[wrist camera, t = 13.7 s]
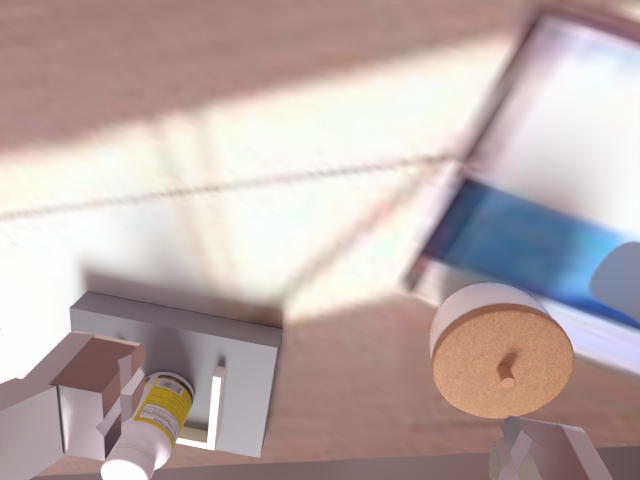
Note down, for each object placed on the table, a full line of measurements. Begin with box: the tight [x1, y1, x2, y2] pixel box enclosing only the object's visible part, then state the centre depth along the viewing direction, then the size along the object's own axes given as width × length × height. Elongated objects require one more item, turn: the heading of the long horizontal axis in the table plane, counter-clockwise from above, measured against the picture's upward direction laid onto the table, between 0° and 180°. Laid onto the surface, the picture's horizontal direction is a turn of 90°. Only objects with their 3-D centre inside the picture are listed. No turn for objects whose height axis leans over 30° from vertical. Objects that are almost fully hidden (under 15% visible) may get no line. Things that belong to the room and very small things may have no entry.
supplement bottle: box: [101, 372, 194, 480], centre depth 41 cm, size 5×5×10 cm
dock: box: [70, 292, 283, 458], centre depth 46 cm, size 20×15×4 cm
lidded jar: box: [430, 282, 574, 418], centre depth 38 cm, size 11×11×9 cm
